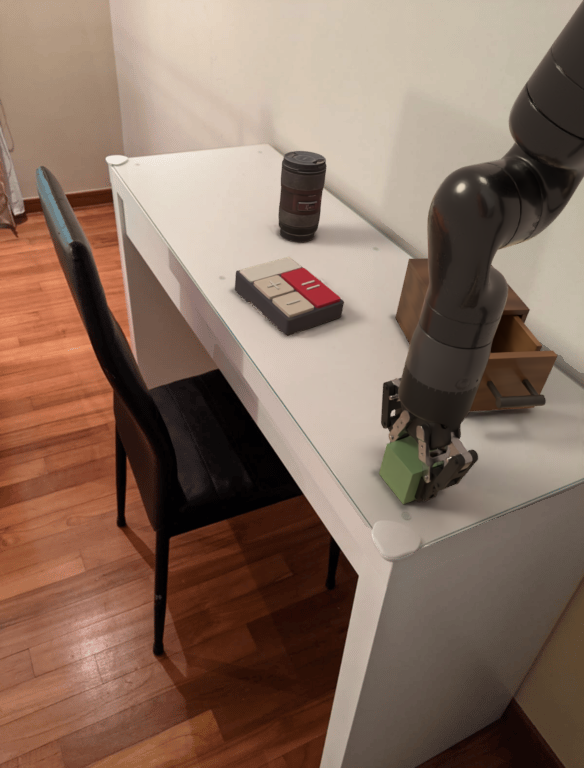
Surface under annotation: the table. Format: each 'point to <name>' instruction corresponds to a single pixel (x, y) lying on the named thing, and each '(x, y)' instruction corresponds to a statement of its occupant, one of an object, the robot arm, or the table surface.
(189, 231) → the table surface
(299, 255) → the table surface
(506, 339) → the drawer
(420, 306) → the cabinet
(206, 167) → the table surface
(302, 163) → the camera lens
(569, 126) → the robot arm
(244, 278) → the calculator
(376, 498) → the table surface
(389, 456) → the block
